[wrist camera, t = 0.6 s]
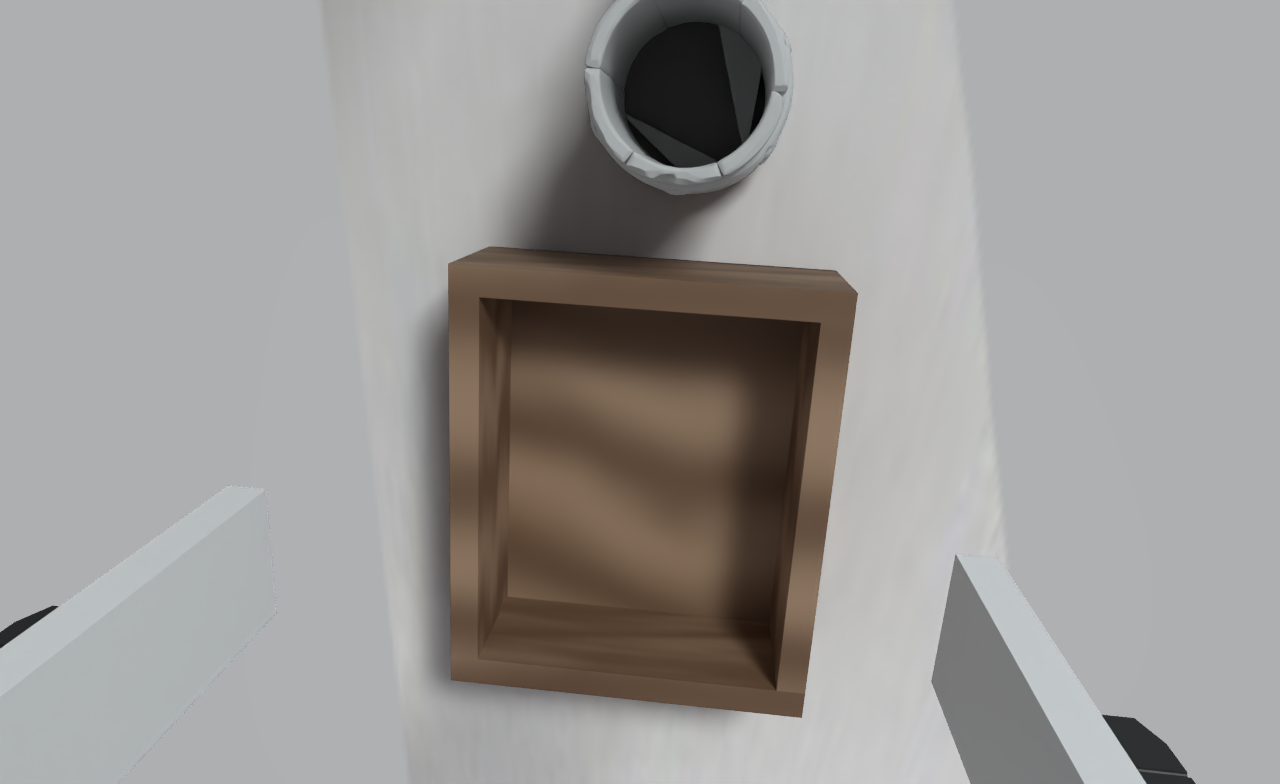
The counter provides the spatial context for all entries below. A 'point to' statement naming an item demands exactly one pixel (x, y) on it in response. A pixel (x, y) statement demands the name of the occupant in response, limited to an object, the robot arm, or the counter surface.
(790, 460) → the wooden box
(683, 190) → the mug
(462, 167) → the counter surface
